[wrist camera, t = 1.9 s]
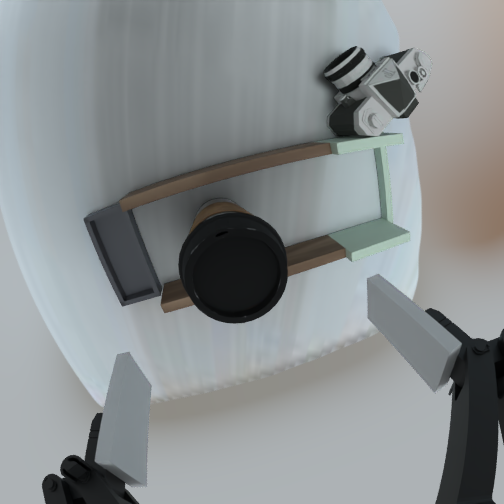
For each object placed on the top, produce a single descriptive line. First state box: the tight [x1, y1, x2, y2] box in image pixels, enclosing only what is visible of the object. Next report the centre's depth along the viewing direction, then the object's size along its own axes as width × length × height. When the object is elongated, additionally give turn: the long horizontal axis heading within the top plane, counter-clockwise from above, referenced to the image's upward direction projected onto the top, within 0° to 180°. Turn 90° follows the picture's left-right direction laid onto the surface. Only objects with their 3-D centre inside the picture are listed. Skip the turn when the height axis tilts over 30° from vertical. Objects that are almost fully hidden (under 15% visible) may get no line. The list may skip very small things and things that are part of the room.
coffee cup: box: [178, 198, 288, 323], centre depth 26 cm, size 8×8×15 cm
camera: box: [324, 46, 432, 137], centre depth 25 cm, size 16×9×10 cm, turn 140°
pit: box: [84, 203, 162, 306], centre depth 31 cm, size 12×6×2 cm, turn 14°
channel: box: [119, 142, 346, 313], centre depth 31 cm, size 13×22×5 cm, turn 104°
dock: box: [316, 132, 410, 262], centre depth 31 cm, size 13×10×6 cm
